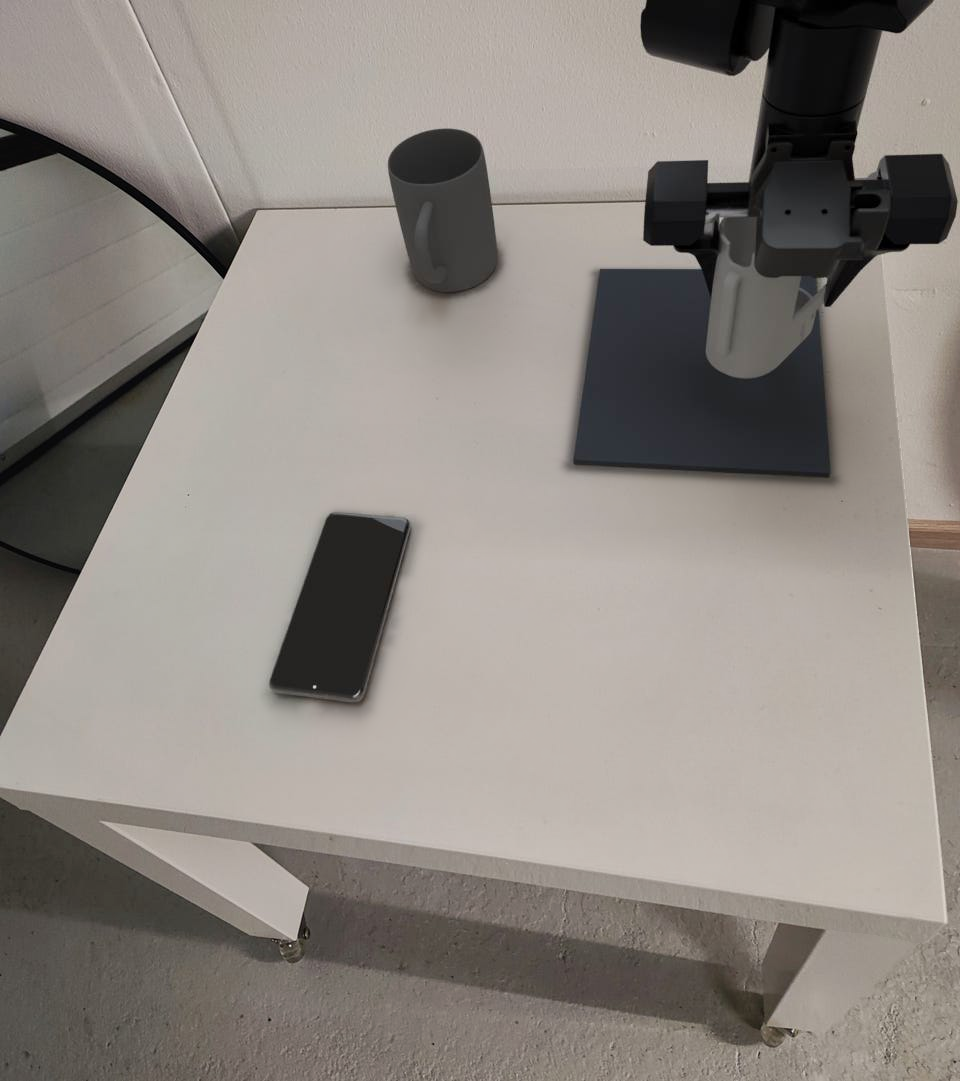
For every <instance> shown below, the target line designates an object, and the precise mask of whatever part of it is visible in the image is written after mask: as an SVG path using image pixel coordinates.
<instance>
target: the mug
mask: <svg viewBox="0 0 960 1081" xmlns="http://www.w3.org/2000/svg"><path fill="white" fill-rule="evenodd" d="M387 172H388V178H389V183H390V187H391V192H392V196H393V200H394V205H395V209H396V213H397V218H398V220H399V221H398V222H399V226H400V230H401V234H402V238H403V242H404V246H405V250H406V253H407V257H408V260H409V264H410V267H411V271H412V274H413V275H414V277H415V279H416V280H417V282H419V284H421V285H422V286H423V287H424V288H426V289H429V290H431V291H434V292H438V293H439V292H440V293H456V292H463V291H466V290H469V289H472V288H474V287H476V286H478V285H480V284H482V283H483V282H485V281H486V280H487V279H488V278H489V277H490V276H491V275H492V274H493V272H494V271H495V269H496V266H497V263H498V243H497V234H496V226H495V219H494V218H495V217H494V216H495V215H494V210H493V201H492V195H491V188H490V181H489V175H488V174H489V173H488V167H487V162H486V155H485V150H484V148H483V144H482V143H481V140H480V139H479V138H478V137H477V136H476V135H474V134H472V133H470V132H469V131H466V130H462V129H458V128H445V127H444V128H435V129H430V130H425V131H420V132H419V133H416V134H413V135H411V136H409V137H407V138H406V139H404V140H403V141H401V142H400V143H398V144H397V145H396V146H395V147H394V148H393V149H392V151H391V152H390V153H389V156H388V159H387Z"/></svg>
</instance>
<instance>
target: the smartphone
mask: <svg viewBox="0 0 960 1081" xmlns="http://www.w3.org/2000/svg"><path fill="white" fill-rule="evenodd" d="M411 527H412V523H411V521H410V520H409V519H408V518H407V517H403V516H391V515H377V514H367V513H366V514H365V513H354V512H353V513H351V512H340V511H339V512H338V511H337V512H336V511H333V512H331V513H329V514H327V516H326V518H325V520H324V522H323V526H322V528H321V532H320V534H319V537H318V540H317V543H316V545H315V549H314V552H313V555H312V557H311V560H310V562H309V563H310V564H309V565H308V569H307V572H306V575H305V578H304V580H303V583H302V586H301V589H300V591H299V594H298V598H297V600H296V603H295V606H294V608H293V612H292V614H291V618H290V620H289V623H288V626H287V628H286V630H285V634H284V637H283V639H282V643H281V646H280V648H279V651H278V655H277V657H276V660H275V663H274V666H273V669H272V672H271V675H270V678H269V682H268V685H269V688H270V690H271V691H272V692H273V693H278V694H282V695H289V696H291V695H292V696H299V697H306V698H313V699H323V700H330V701H339V702H346V703H358V702H360V701H361V700H362V699H363V698H364V697H365V693H366V690H367V686H368V683H369V679H370V675H371V672H372V668H373V664H374V662H375V658H376V654H377V650H378V647H379V643H380V639H381V637H382V632H383V629H384V625H385V622H386V618H387V614H388V611H389V607H390V603H391V600H392V596H393V594H394V590H395V585H396V582H397V579H398V575H399V571H400V568H401V564H402V560H403V556H404V553H405V550H406V546H407V542H408V538H409V535H410V531H411Z"/></svg>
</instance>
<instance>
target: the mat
mask: <svg viewBox="0 0 960 1081" xmlns="http://www.w3.org/2000/svg"><path fill="white" fill-rule="evenodd" d="M799 287H800V288H802V289H804V290H805V291H807V292H808V293H809V294H810V295H811V296H812V297H813V296H814V295H815V294H816V293H817V292H818V283H817V278H812V277H810V276H801V281H800V285H799ZM594 302H595V303H594V309H593V315H592V322H591V331H590V337H589V346H588V350H587V360H586V366H585V367H586V368H585V372H584V373H585V374H584V380H583V388H582V396H581V402H580V409H579V418H578V425H577V432H576V437H575V447H574V452H573V453H574V454H573V464H574V465H587V466H588V465H589V466H607V467H623V468H625V467H626V468H627V467H628V468H644V469H661V470H663V469H664V470H680V471H681V470H682V471H699V472H700V471H701V472H720V473H737V474H738V473H740V474H756V475H757V474H760V475H775V476H776V475H777V476H792V477H793V476H795V477H796V476H797V477H812V478H813V477H815V478H830V476H831V473H832V472H831V461H830V448H829V447H830V446H829V434H828V419H827V405H826V392H825V391H826V390H825V376H824V365H823V352H822V349H823V348H822V338H821V325H820V311H819V309H820V308H818V309H817V311H816V315H815V319H814V323H813V327H812V330H811V332H810V334H809V335H808V336H807V337H806V338H805V339H804V340H803V341H802V342H801V343H800V344H799V345H798V346H797V347H796V348H795V349H794V350H793V351H792V352H791V353H790V354H789V355H788V356H787V357H786V358H785V359H784V360H783V361H782V362H781V363H780V364H779V365H778V366H777V367H776V368H775V369H774V370H772V371H771V372H769V373H767V374H765V375H763V376H760V377H757V378H751V379H740V378H735V377H732V376H729V375H727V374H725V373H723V372H720V371H719V370H717V369H716V368H715V367H713V366H712V365H711V363H710V362H709V361H708V359H707V356H706V343H707V334H708V324H709V315H710V306H711V297H710V294H709V291H708V288H707V284H706V281H705V278H704V275H703V272H702V269H701V268H600V269H599V273H598V280H597V287H596V294H595V300H594Z"/></svg>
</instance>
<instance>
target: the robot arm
mask: <svg viewBox="0 0 960 1081" xmlns="http://www.w3.org/2000/svg"><path fill="white" fill-rule="evenodd" d="M934 1H935V0H646V1H645V7H644V8H643V10H642V11H641V14H640V25H639V27H640V39H641V43H642V46H643V48H644V50H645V52H646V53H647V54H648V55H649V56H651V57H655V58H659V59H663V60H667V61H670V62H674V63H678V64H682V65H686V66H690V67H694V68H697V69H700V70H705V71H709V72H713V73H717V74H721V75H725V76H728V77H735V76H738V75H739V74H741V73H742V72H743V71H745V69H747V67H748V66H749V65H750V63H751V62H757V61H760V60H761V59H762V58H763V57H764V56H765V55H766V53H767V52H768V54H767V59H766V66H765V72H764V80H763V85H762V92H761V99H760V104H759V111H758V119H757V125H756V130H755V131H756V132H755V137H754V144H753V149H752V150H753V151H752V155H751V156H752V157H751V164H750V170H749V176H748V181H743V182H739V181H737V182H709V180H708V179H709V178H708V177H709V159H700V160H699V159H696V160H695V159H694V160H693V159H692V160H662V161H661V160H658V161H656V162H655V163H654V165H652V166H651V167H650V169H649V170H647V172H648V173H647V180H646V191H645V200H644V213H643V232H642V233H643V238H642V241H643V242H645V243H646V244H647V245H649V246H651V247H652V246H653V247H664V246H665V247H671V246H672V247H673V249H674V250H675V252H677V253H679V254H680V253H681V254H690V255H692V256H694V257H695V259H696V261H697V263H698V265H699V267H700V269H702V272H703V275H704V278H705V281H706V284H707V288H708V291H709V294H710V297H712V288H713V280H714V273H715V267H716V261H717V257H718V255H719V243H718V232H719V225H720V223H721V221H720V219H721V218H724V217H757V224H756V246H755V259H754V265H755V269H756V271H757V272H758V273H759V274H760V275H762V276H764V277H767V278H778V277H781V276H810V277H812V278H816V279H823V278H826V277H827V276H828V278H826V283H825V284H826V288H825V294H824V303H823V306H824V308H831V307H832V305H834V303H835V302H836V301H837V300H838V298H840V296H841V295H842V294H843V292H845V290H846V289H847V288H848V287H849V286H850V284H851V283H852V282H853V281H854V279H855V278H856V277H857V276H858V274H859V273H861V271H862V270H863V269H864V268H865V267H867V265H868V264H869V263H870V262H871V261H873V260H874V259H875V258H876V257H878V256H880V255H885V254H888V253H901V252H904V251H906V250H907V249H908V248H909V247H910V246H911V245H940V243H942V242H944V241H945V240H947V238H948V236H949V234H950V232H951V229H952V226H953V224H954V221H955V219H956V217H957V210H958V204H959V200H958V196H957V192H956V188H955V184H954V183H955V182H954V180H953V174H952V171H951V167H950V163H949V162H948V160H947V159H946V157H945V156H944V155H943V153H924V154H923V153H922V154H919V153H918V154H916V153H915V154H885V155H883V156H882V157H881V158H880V159H879V160H878V161H879V162H878V165H877V168H876V171H873V172H871V173H870V174H869V175H868V176H866V177H855V176H856V175H855V168H854V160H853V157H854V153H855V150H856V141H857V137H858V134H859V132H858V127H859V123H860V119H861V115H862V112H863V107H864V104H865V100H866V96H867V92H868V89H869V85H870V81H871V77H872V72H873V69H874V65H875V61H876V57H877V53H878V49H879V45H880V42H881V39H882V35H883V32H888V33H892V34H901V33H903V32H904V31H906V30H907V29H908V28H909V27H910V26H911V25H912V24H913V23H914V21H916V20H917V19H918V17H920V16H921V15H922V14H923V13H924V12H925V11H926V10H927V9H928V8H929V7H930V6H931V5H932V4H933V3H934Z"/></svg>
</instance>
